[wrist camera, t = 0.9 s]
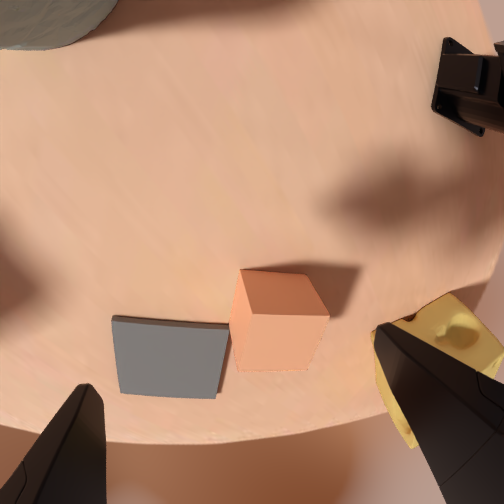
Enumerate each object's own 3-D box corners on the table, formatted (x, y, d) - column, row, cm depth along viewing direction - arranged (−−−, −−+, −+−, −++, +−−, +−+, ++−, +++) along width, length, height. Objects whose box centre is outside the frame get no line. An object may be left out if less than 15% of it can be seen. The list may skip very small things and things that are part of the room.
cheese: (367, 331, 28) (418, 412, 19) (453, 285, 28) (513, 346, 19) (372, 386, 33) (408, 452, 24) (445, 346, 33) (487, 402, 24)
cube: (305, 273, 23) (330, 315, 19) (288, 325, 26) (307, 370, 21) (239, 268, 22) (252, 313, 18) (228, 323, 24) (237, 371, 20)
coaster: (228, 324, 24) (229, 329, 24) (214, 394, 28) (215, 398, 28) (112, 315, 22) (111, 320, 22) (121, 388, 26) (120, 393, 25)
